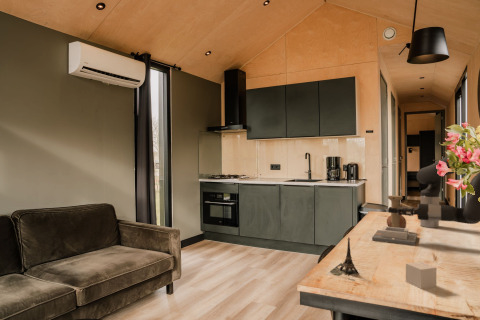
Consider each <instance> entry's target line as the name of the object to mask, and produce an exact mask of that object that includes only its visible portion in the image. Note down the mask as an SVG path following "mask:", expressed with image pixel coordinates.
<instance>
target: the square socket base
mask: <svg viewBox="0 0 480 320" xmlns="http://www.w3.org/2000/svg"><path fill="white" fill-rule="evenodd" d="M417 238H418V234H417V233H409V228H394V227H388V226H385V225H384V227H382V229H381V230H379V229H378V230H377V231H376V232H375V233H374V234H373V235H372V237H371V239H372V240H371V241H374V242H381V243H382V242H383V243H389V244H397V245H407V246H416V242H417Z"/></svg>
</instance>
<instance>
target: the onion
mask: <svg viewBox="0 0 480 320" xmlns="http://www.w3.org/2000/svg"><path fill="white" fill-rule="evenodd" d="M386 225H387V227H392V222H391V215H389V216H388V217H387V218H386ZM406 227H407V220H406V218H405V216H404V215H400V223H399V227H398V228H406ZM406 229H407V228H406Z"/></svg>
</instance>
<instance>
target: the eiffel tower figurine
mask: <svg viewBox="0 0 480 320" xmlns="http://www.w3.org/2000/svg"><path fill="white" fill-rule="evenodd" d="M350 241H351V238H350V237H348V238H347V249H346V256H345V260H344V262H341V263H339V264H338V265H337V266H335V267H334V268H332V269H331V270H330V271H329V272H330V274H332V275H333V276H338V277H339V276H342V274H343V275H346V276H348V275H360V273H359V272H358V270H357V268H356V266H355V263H354V262H353V260H352V256H351V245H350ZM349 280H351V281H354V279H352V278H349Z"/></svg>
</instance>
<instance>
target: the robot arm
mask: <svg viewBox="0 0 480 320" xmlns="http://www.w3.org/2000/svg"><path fill="white" fill-rule="evenodd" d="M447 156H448V155H446V156H445V157H443V158H442V159H440V160H441V161H444V162H446V163H447V166H448V168H450V167H449V165H448V162H447ZM438 162H439V160H438V161H436V162H434V163H432V164H430V165H428V166H425V167H422V168H420V169H419V170H418V171H417V173H416V180H417V182H418V183H420V184H422V185H428V186H427V187H426V188H425V189H422V190H421V191H420V203H418V204H417V207H414V206H405V205H404V206H400V205H399V208H391V206H389V208H387V213H389V214H391V213H397V214H399V215H402V216H409V217H413V216H414V215H417V220H419V221H420V227H424V228H434V229H435V228H439V226H440V221H441V222H455V223H461V224H468V225H469V224H470V225H476V224H478V223H480V202H479V201H478V198H479V197H480V171H478V173H476V174H475V176H473V178H472V179H471V180H470V183H469V185H470V184H471V185H472V186H473V188H474V191H475V195H472V194H470V193H468V192H467V194H466V200H465V201H466V202H465V206H464V207H455V206H453V205H443V204H440V193H441V187H442V176H439V175H438V174H437V169H436V165H437V164H438ZM453 174H455V173H454V172H448V173H446V174H445V175H444V176H448V175H453Z"/></svg>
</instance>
